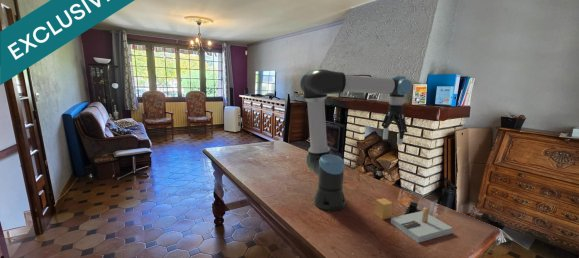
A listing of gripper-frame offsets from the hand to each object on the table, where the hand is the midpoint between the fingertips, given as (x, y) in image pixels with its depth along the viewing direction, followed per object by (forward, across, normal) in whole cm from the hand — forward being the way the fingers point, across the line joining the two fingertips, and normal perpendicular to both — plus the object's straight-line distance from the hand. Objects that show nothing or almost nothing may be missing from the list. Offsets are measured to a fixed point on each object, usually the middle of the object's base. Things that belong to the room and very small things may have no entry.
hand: (392, 141), depth 142 cm
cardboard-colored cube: (+26, -31, +23) cm, 47 cm away
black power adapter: (+27, -31, +7) cm, 41 cm away
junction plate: (+26, -43, +13) cm, 52 cm away
